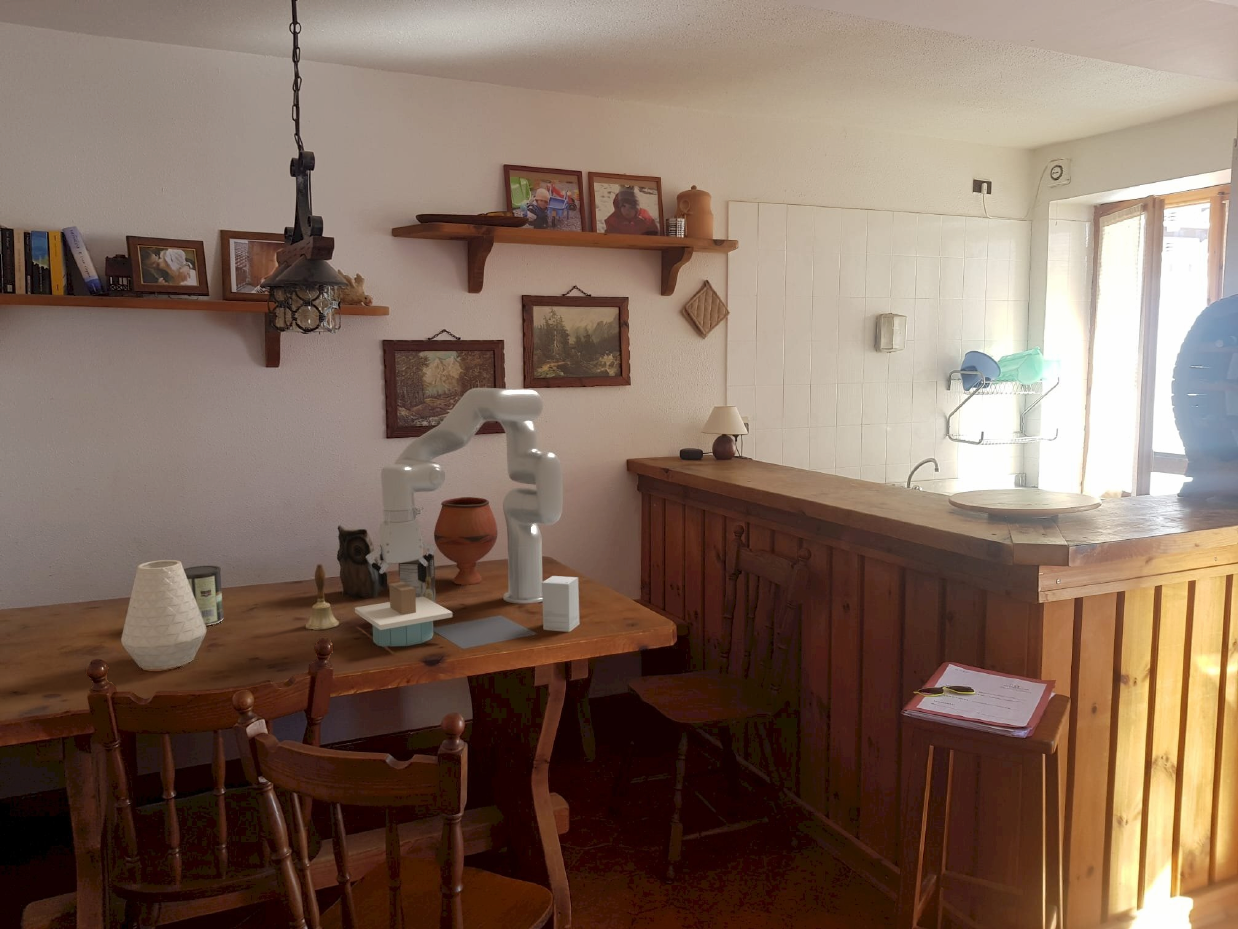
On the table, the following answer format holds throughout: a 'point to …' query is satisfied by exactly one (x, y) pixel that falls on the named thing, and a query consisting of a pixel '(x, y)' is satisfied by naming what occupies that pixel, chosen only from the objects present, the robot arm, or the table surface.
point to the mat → (482, 631)
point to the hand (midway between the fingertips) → (403, 584)
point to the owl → (357, 563)
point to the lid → (402, 609)
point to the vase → (162, 617)
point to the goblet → (465, 534)
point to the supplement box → (560, 603)
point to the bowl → (403, 634)
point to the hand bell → (321, 606)
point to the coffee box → (410, 577)
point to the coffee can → (207, 591)
